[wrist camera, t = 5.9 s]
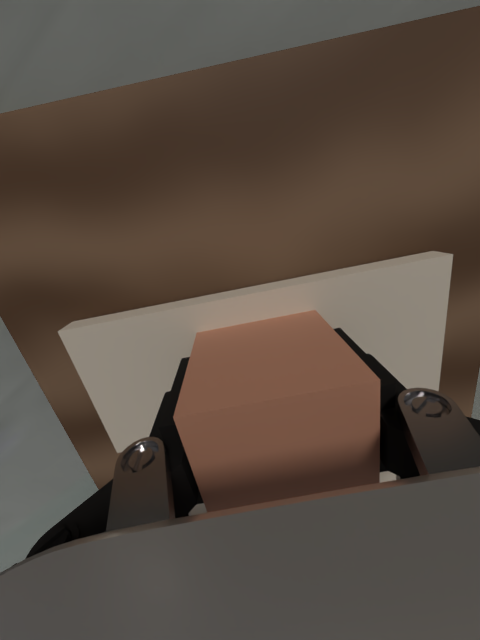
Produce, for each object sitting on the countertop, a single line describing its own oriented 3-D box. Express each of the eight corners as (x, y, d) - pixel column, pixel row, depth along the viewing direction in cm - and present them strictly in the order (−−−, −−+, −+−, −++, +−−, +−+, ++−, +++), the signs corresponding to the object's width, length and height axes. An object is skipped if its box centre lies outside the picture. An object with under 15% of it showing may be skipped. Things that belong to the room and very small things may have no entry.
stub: (72, 321, 12) (-73, 419, 6) (432, 250, 11) (640, 285, 6) (125, 436, 14) (56, 581, 9) (422, 382, 14) (559, 499, 8)
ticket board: (-58, 147, 11) (-152, 124, 8) (498, 23, 10) (595, -47, 7) (159, 563, 21) (149, 612, 19) (434, 518, 20) (465, 562, 18)
